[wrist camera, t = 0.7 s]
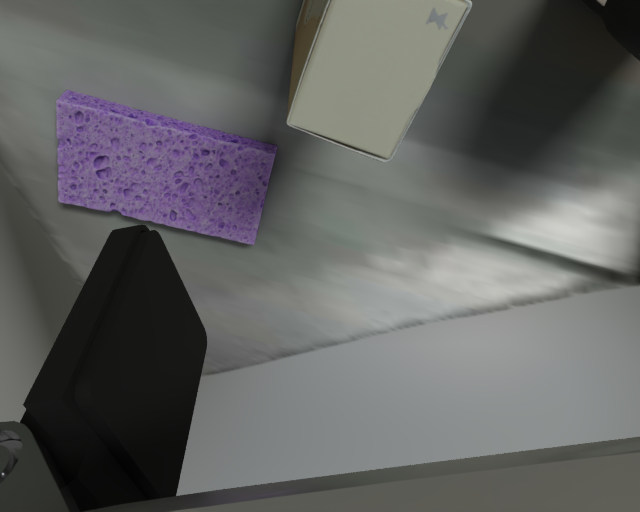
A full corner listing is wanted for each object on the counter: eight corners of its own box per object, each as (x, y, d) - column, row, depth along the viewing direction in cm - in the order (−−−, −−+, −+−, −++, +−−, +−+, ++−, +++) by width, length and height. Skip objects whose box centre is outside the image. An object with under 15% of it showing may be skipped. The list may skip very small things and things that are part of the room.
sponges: (67, 86, 31) (55, 98, 30) (281, 141, 33) (279, 156, 32) (66, 187, 35) (55, 203, 34) (257, 231, 38) (254, 248, 36)
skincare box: (337, -104, 25) (351, -67, 16) (421, -66, 26) (482, -8, 17) (291, 31, 29) (280, 128, 19) (366, 60, 30) (391, 168, 20)
